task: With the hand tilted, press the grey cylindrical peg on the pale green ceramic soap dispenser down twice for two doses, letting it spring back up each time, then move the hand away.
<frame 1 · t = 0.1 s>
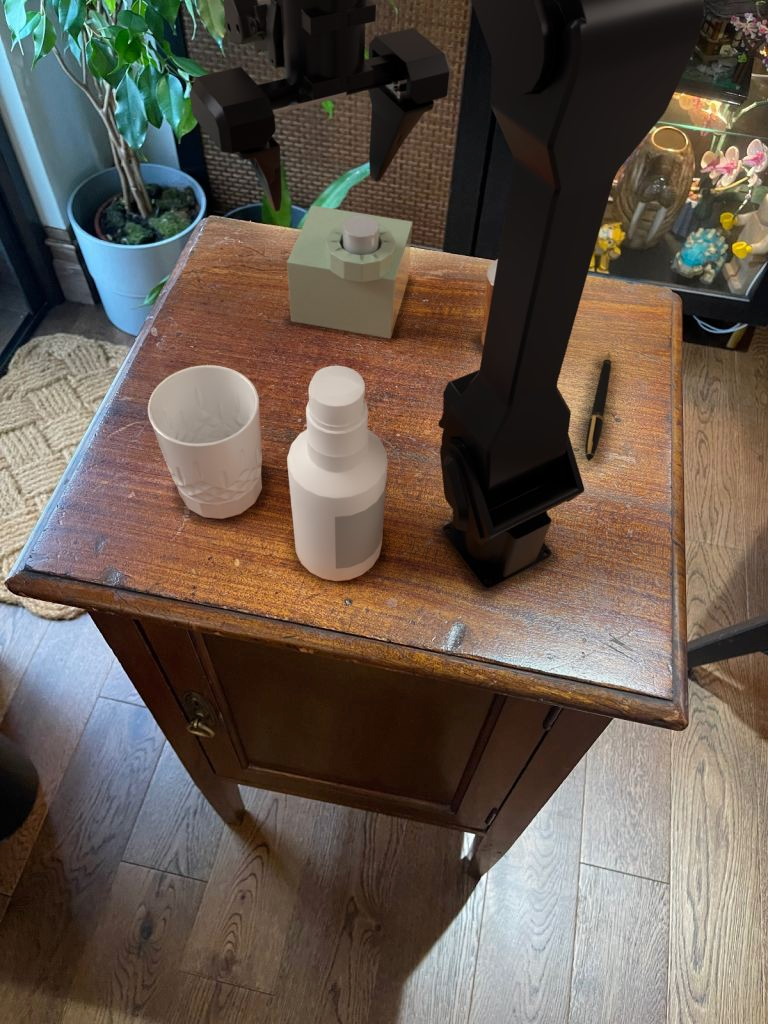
hand: (326, 193, 63), 15 cm above the table, tool pointing down, fingers open, 9 cm apart
white bottle: (338, 546, 61), on the table
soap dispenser: (350, 300, 78), on the table
white cup: (221, 487, 64), on the table
grey cylindrical peg: (360, 235, 68), point 10 cm above the table, slide at 0.1 cm
fountain pen: (597, 409, 71), on the table
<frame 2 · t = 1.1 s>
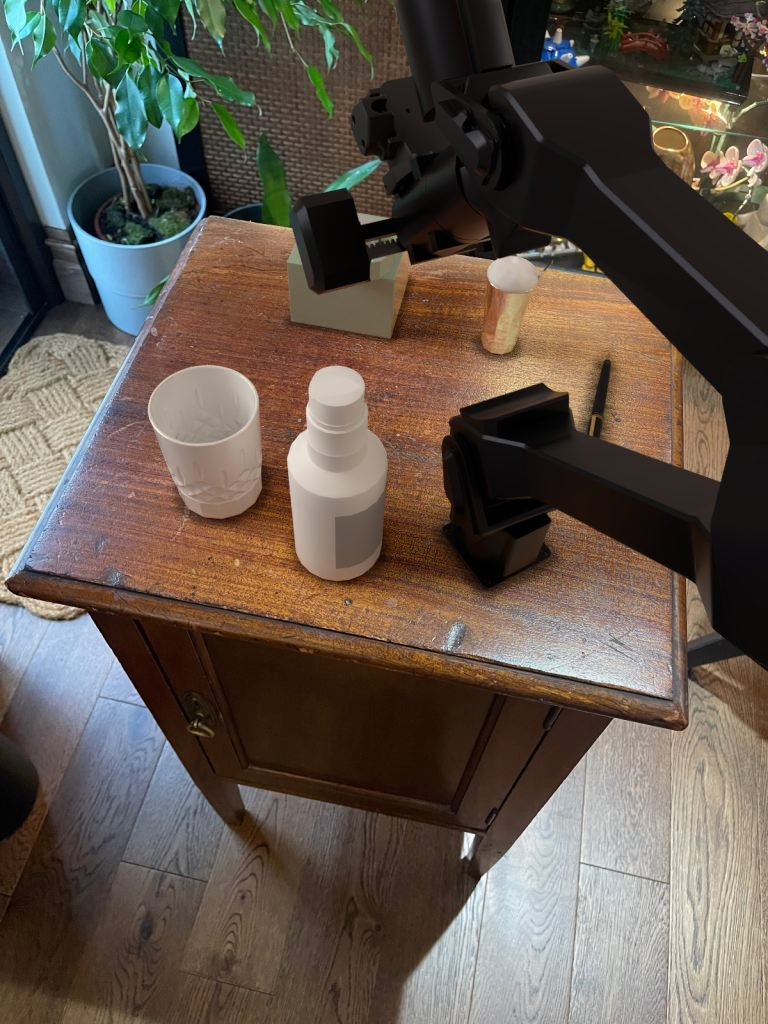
hand: (388, 245, 63), 13 cm above the table, tool tilted 45°, fingers open, 8 cm apart
nothing on the table moved.
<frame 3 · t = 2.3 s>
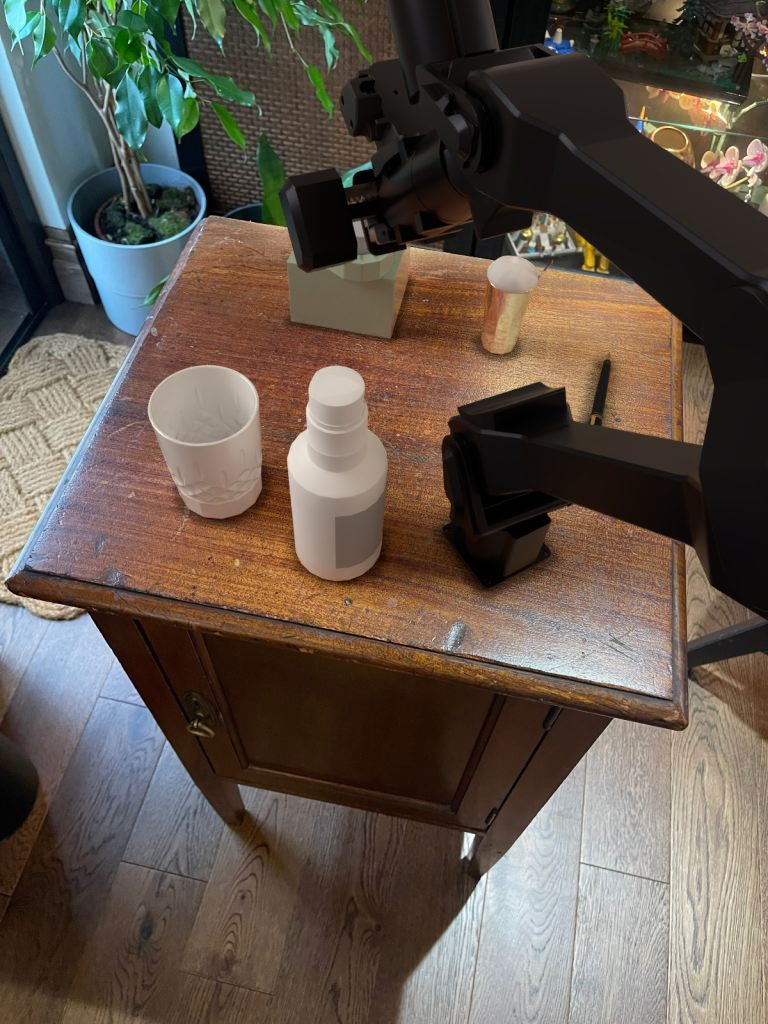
hand: (377, 224, 64), 13 cm above the table, tool tilted 45°, fingers closed
nothing on the table moved.
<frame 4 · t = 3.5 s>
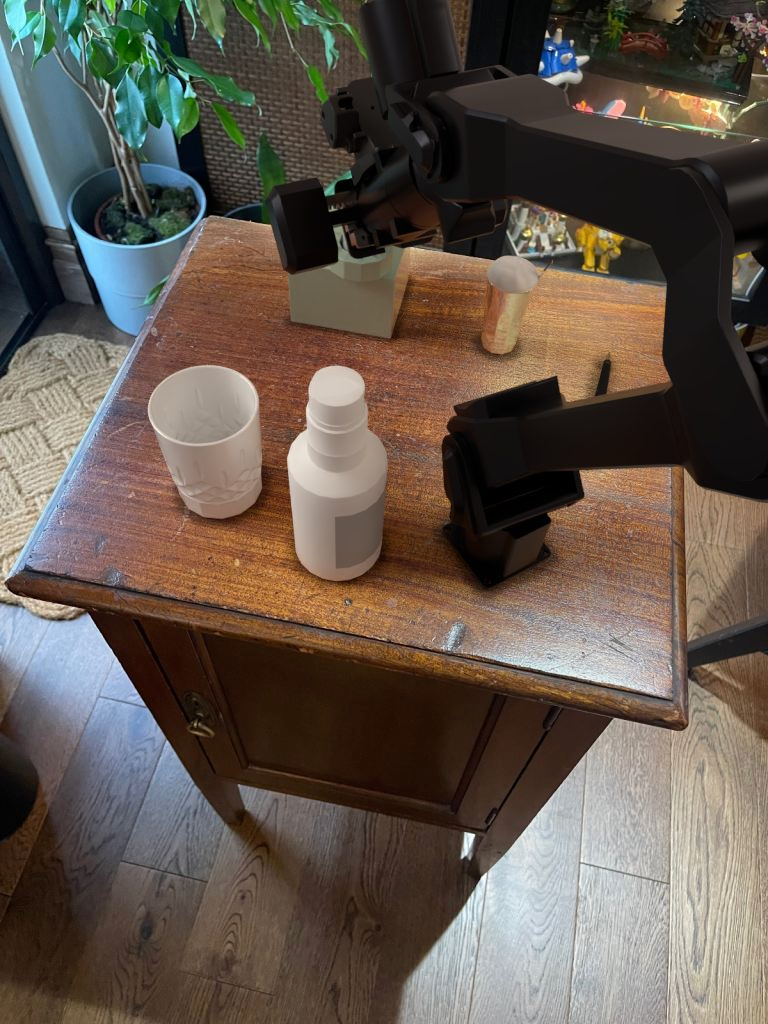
hand: (360, 230, 68), 10 cm above the table, tool tilted 45°, fingers closed, pressing on grey cylindrical peg
grey cylindrical peg: (360, 242, 69), point 9 cm above the table, slide at -0.7 cm, touching gripper
everything else where it was.
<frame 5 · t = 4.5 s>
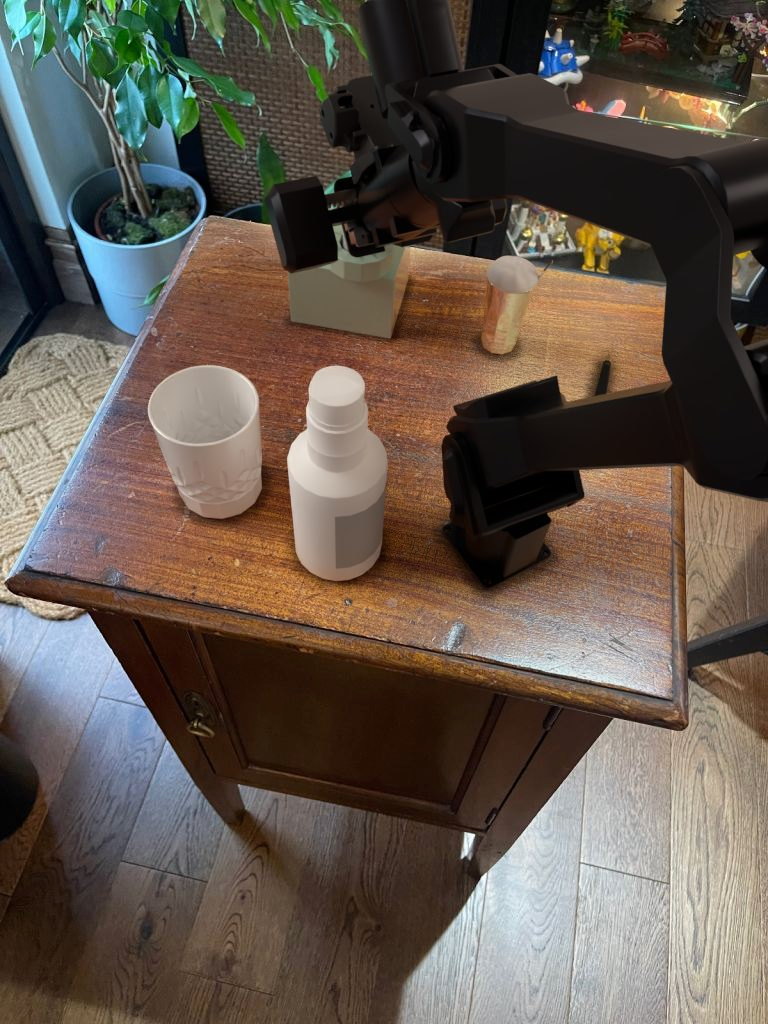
hand: (359, 228, 68), 10 cm above the table, tool tilted 45°, fingers closed, pressing on grey cylindrical peg
grey cylindrical peg: (360, 242, 69), point 9 cm above the table, slide at -0.6 cm, touching gripper
everything else where it was.
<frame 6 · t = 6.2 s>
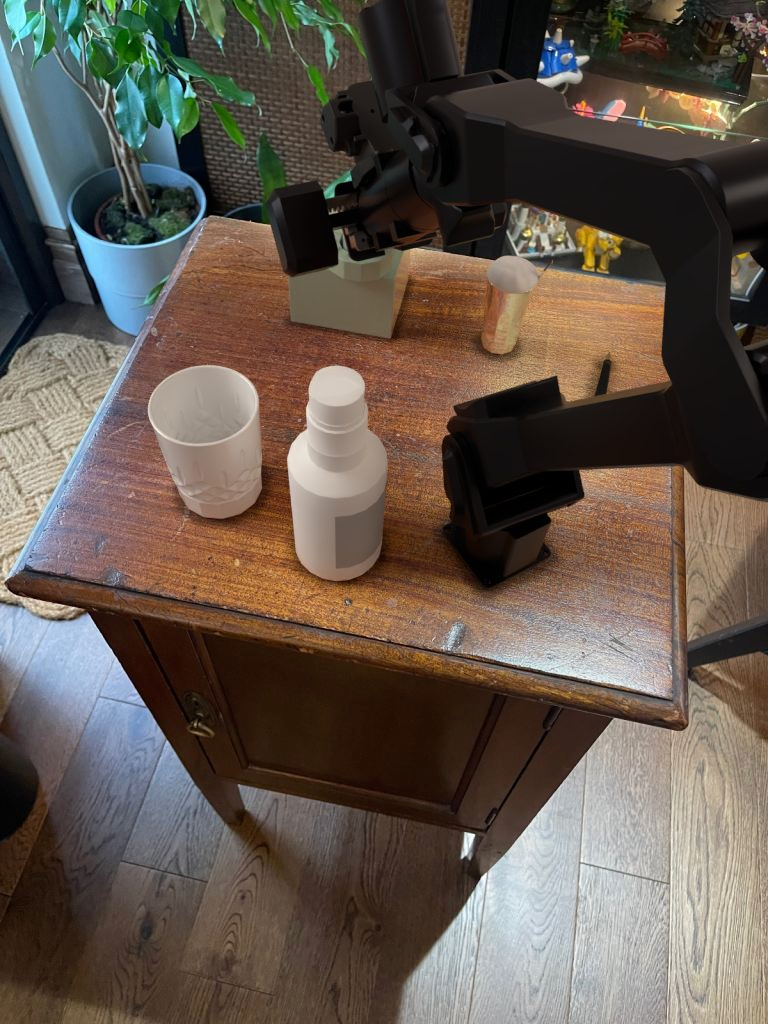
hand: (360, 232, 68), 10 cm above the table, tool tilted 45°, fingers closed, pressing on grey cylindrical peg
grey cylindrical peg: (360, 245, 69), point 9 cm above the table, slide at -0.9 cm, touching gripper
everything else where it was.
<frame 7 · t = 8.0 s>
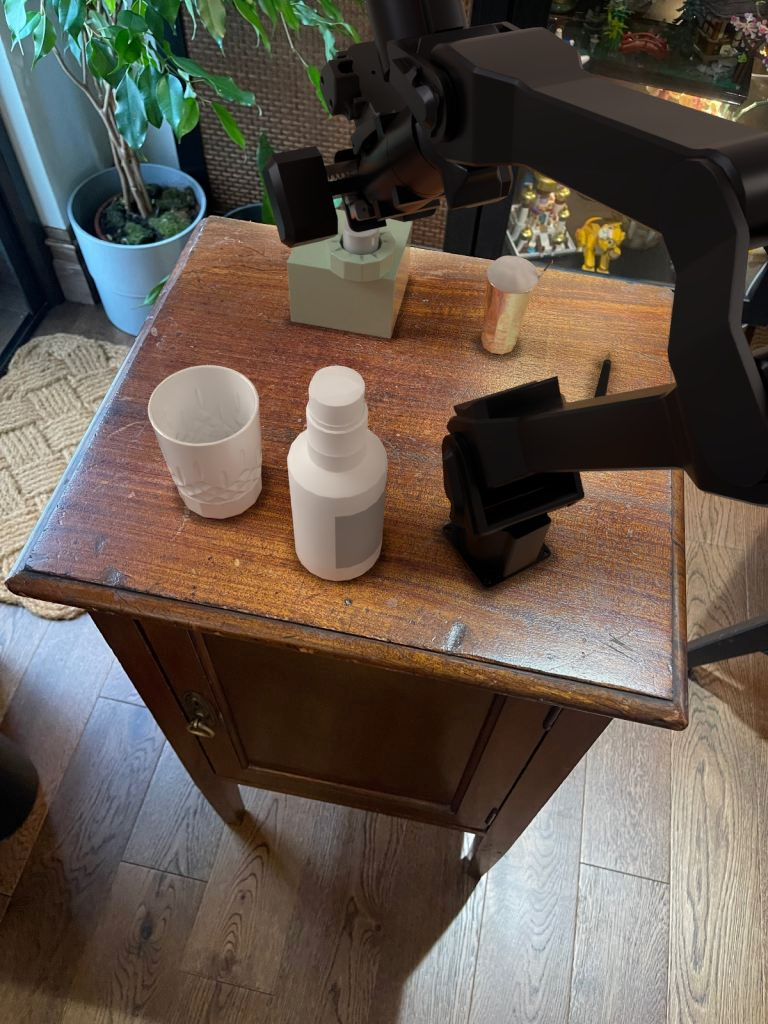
hand: (360, 205, 66), 13 cm above the table, tool tilted 45°, fingers closed
grey cylindrical peg: (360, 235, 68), point 10 cm above the table, slide at 0.1 cm
everything else where it was.
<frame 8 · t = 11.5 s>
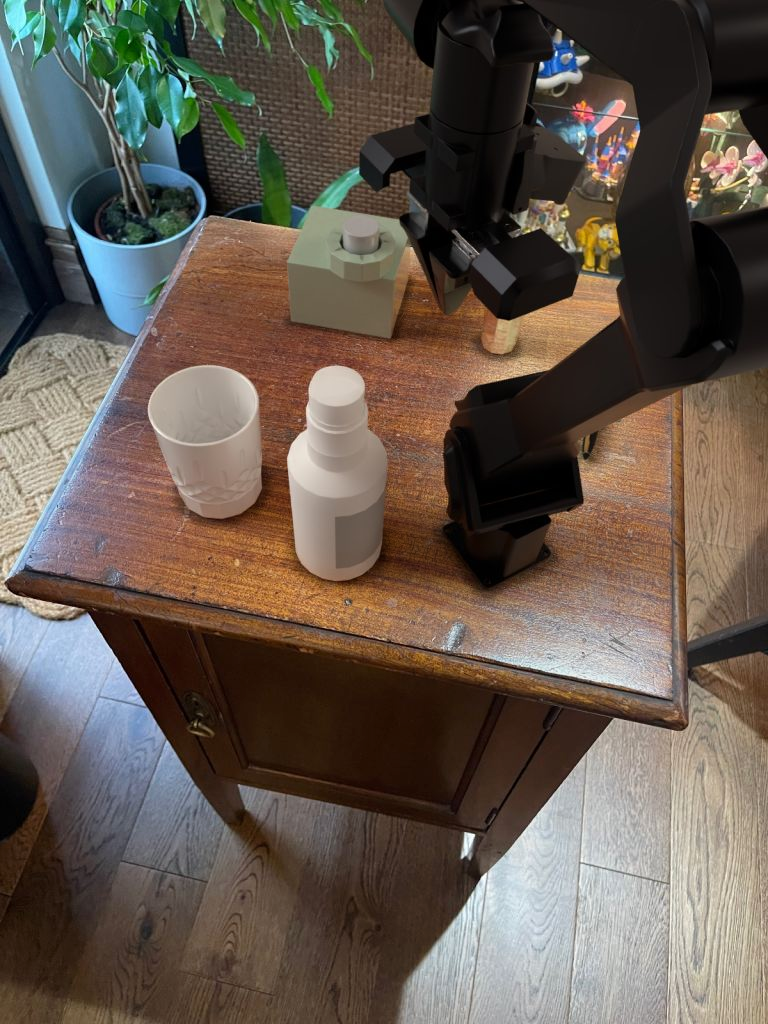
hand: (448, 311, 59), 12 cm above the table, tool pointing down, fingers closed
nothing on the table moved.
at the end: grey cylindrical peg pushed in 1.5 cm at the most during the clip, back to where it started at the end; grey cylindrical peg slide at 0.1 cm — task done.
